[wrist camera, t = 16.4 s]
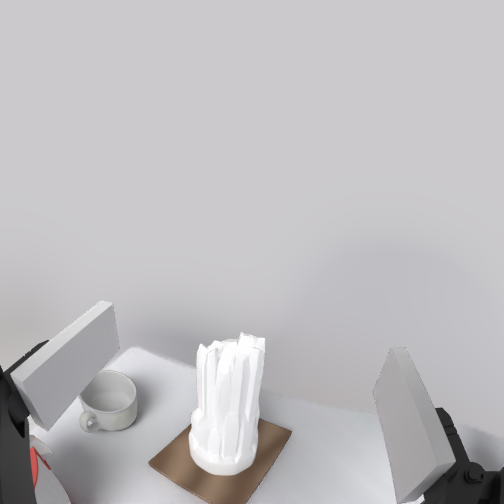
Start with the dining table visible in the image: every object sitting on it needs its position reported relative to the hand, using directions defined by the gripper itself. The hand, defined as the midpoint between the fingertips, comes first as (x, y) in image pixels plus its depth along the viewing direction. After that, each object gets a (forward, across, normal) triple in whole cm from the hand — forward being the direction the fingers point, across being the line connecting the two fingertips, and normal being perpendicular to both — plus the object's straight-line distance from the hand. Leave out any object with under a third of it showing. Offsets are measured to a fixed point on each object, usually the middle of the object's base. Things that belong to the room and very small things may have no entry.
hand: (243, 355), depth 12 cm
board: (+17, -3, -36) cm, 40 cm away
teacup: (+16, -25, -36) cm, 47 cm away
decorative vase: (+17, -3, -35) cm, 39 cm away
